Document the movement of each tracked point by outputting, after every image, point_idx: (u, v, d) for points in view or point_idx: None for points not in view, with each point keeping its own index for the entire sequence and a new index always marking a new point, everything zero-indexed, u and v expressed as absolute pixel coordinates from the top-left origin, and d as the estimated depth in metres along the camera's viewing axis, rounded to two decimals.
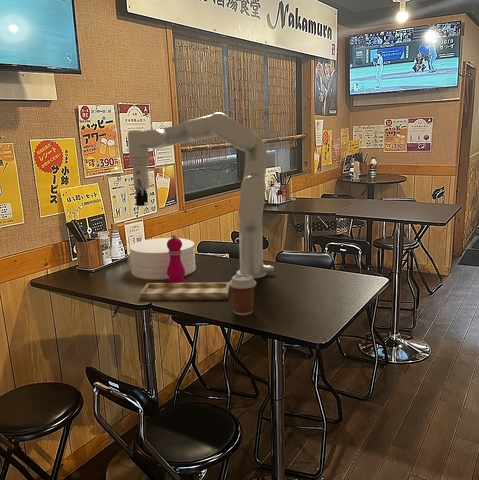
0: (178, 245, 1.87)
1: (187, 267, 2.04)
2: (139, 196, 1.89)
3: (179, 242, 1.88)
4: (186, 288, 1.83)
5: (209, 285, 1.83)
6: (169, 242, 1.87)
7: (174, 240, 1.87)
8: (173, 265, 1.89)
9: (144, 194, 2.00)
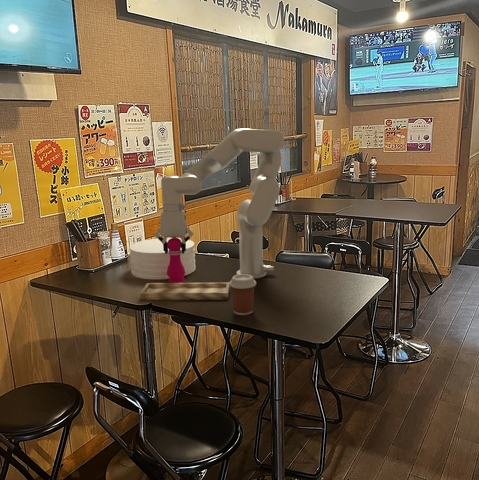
0: (178, 245, 1.87)
1: (187, 267, 2.04)
2: (185, 243, 1.89)
3: (179, 242, 1.88)
4: (186, 288, 1.83)
5: (209, 285, 1.83)
6: (169, 242, 1.87)
7: (174, 240, 1.87)
8: (173, 265, 1.89)
9: None
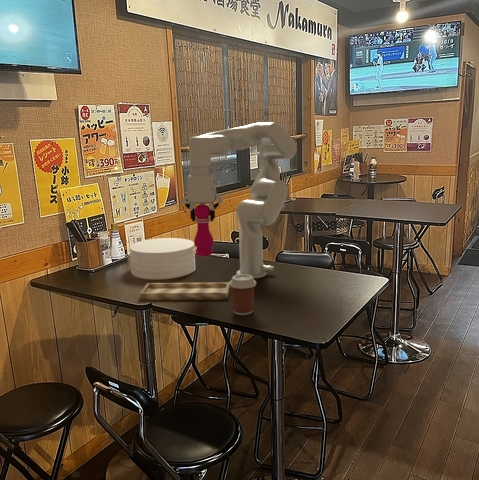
0: (206, 212, 1.73)
1: (187, 267, 2.04)
2: (214, 210, 1.74)
3: (207, 209, 1.73)
4: (186, 288, 1.83)
5: (209, 285, 1.83)
6: (197, 209, 1.73)
7: (202, 207, 1.73)
8: (201, 234, 1.74)
9: None
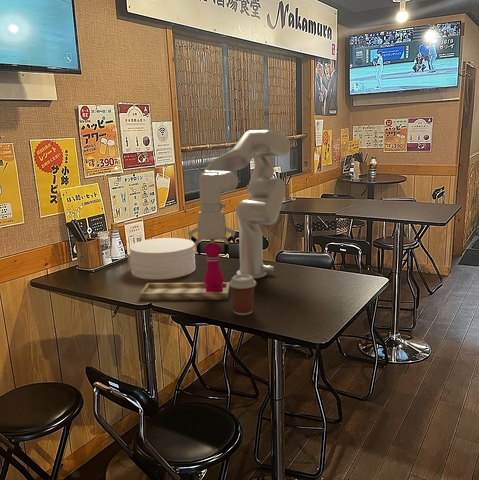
0: (217, 251, 1.73)
1: (187, 267, 2.04)
2: (228, 243, 1.74)
3: (218, 247, 1.73)
4: (186, 288, 1.83)
5: None
6: (207, 247, 1.73)
7: (213, 245, 1.73)
8: (212, 272, 1.74)
9: (200, 245, 1.75)
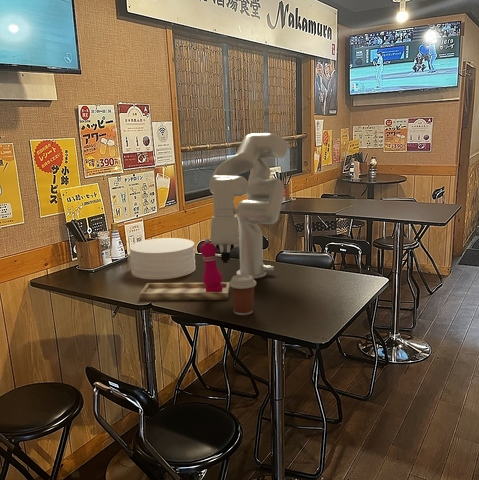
0: (213, 250, 1.73)
1: (187, 267, 2.04)
2: (229, 251, 1.75)
3: (214, 246, 1.73)
4: (186, 288, 1.83)
5: None
6: (203, 247, 1.73)
7: (208, 245, 1.73)
8: (210, 272, 1.74)
9: None
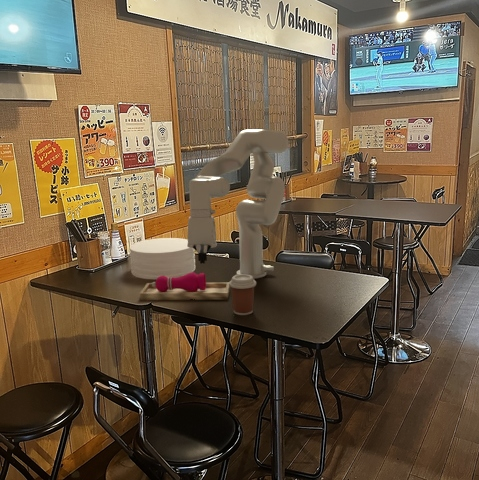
0: (160, 280, 1.76)
1: (187, 267, 2.04)
2: (206, 252, 1.75)
3: (158, 279, 1.77)
4: None
5: (209, 285, 1.83)
6: (158, 289, 1.78)
7: (156, 284, 1.77)
8: (182, 285, 1.76)
9: None
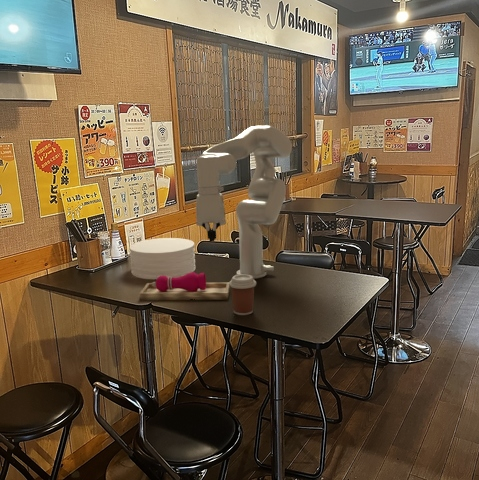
0: (160, 280, 1.77)
1: (187, 267, 2.04)
2: (215, 230, 1.74)
3: (158, 278, 1.78)
4: None
5: (209, 285, 1.83)
6: (158, 289, 1.78)
7: (156, 284, 1.78)
8: (182, 284, 1.76)
9: None
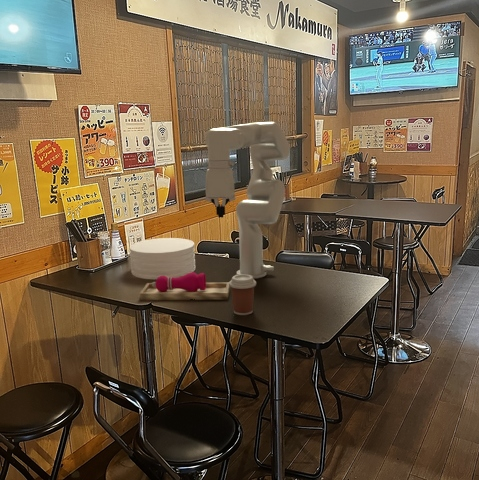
0: (160, 280, 1.77)
1: (187, 267, 2.04)
2: None
3: (158, 279, 1.77)
4: None
5: (209, 285, 1.83)
6: (158, 289, 1.78)
7: (156, 284, 1.77)
8: (182, 285, 1.76)
9: (220, 207, 1.72)
